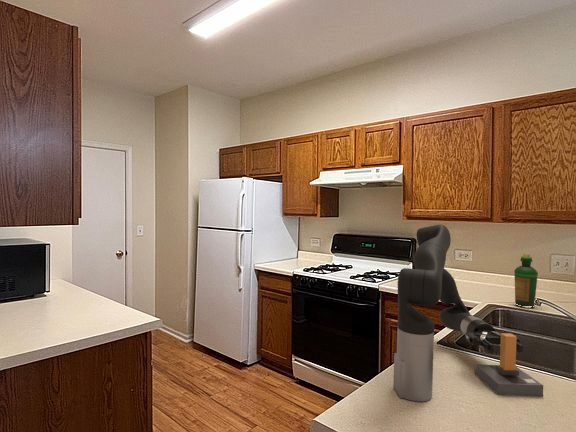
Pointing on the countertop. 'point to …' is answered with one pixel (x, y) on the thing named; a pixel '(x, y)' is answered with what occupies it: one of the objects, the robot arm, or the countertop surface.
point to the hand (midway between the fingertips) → (506, 348)
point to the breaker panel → (509, 381)
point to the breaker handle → (507, 355)
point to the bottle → (525, 282)
